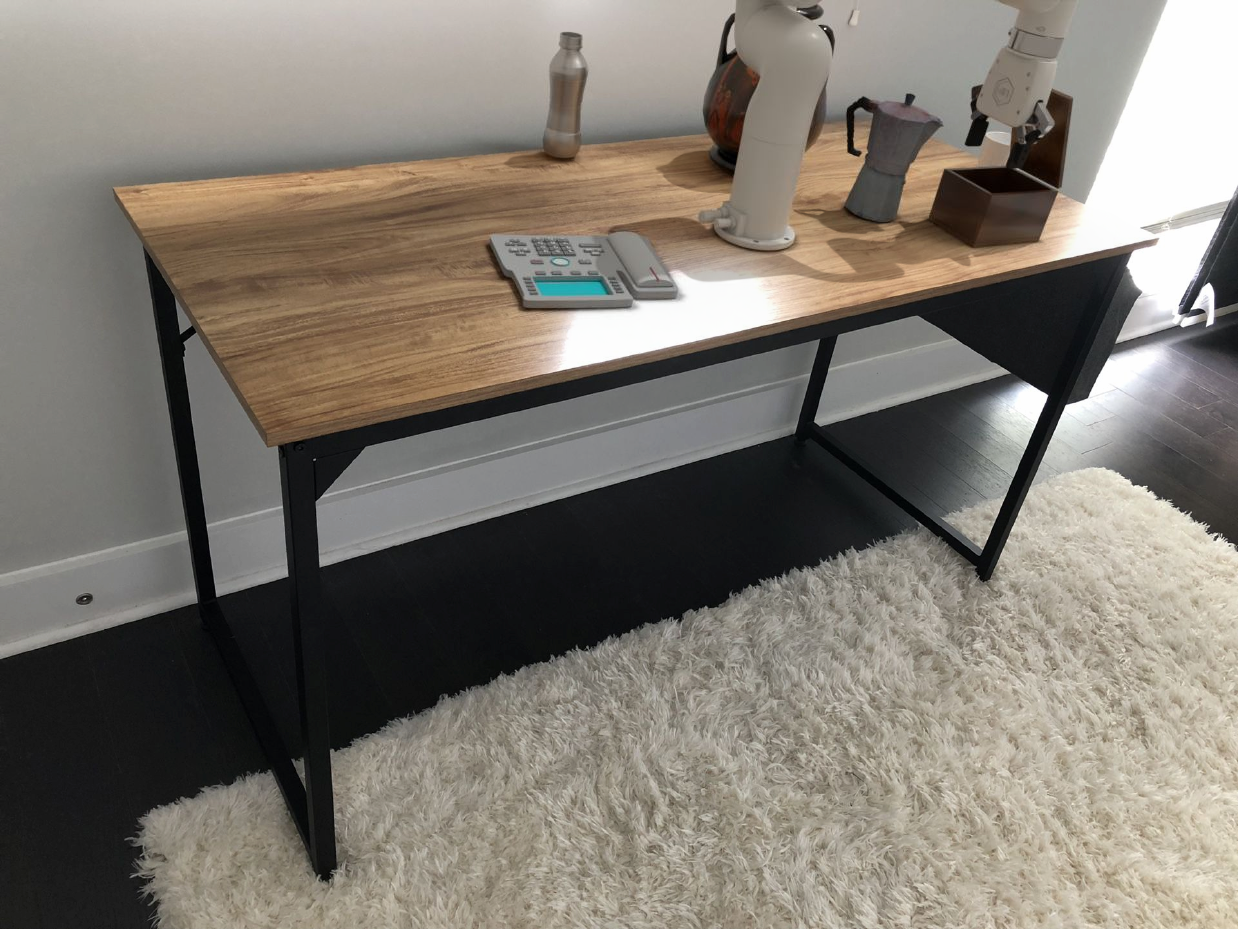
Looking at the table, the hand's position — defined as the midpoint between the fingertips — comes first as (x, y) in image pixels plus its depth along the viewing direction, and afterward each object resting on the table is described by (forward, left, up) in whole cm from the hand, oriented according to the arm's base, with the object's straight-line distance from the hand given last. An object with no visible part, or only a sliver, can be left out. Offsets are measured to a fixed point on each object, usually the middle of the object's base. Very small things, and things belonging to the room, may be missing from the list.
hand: (992, 156), depth 157 cm
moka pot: (-13, +10, -13) cm, 21 cm away
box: (+4, 0, -13) cm, 13 cm away
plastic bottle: (-57, +41, -13) cm, 72 cm away
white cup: (+19, +15, -13) cm, 27 cm away
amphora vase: (-23, +32, -13) cm, 42 cm away
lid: (+8, 0, +4) cm, 9 cm away
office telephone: (-71, -3, -13) cm, 73 cm away
